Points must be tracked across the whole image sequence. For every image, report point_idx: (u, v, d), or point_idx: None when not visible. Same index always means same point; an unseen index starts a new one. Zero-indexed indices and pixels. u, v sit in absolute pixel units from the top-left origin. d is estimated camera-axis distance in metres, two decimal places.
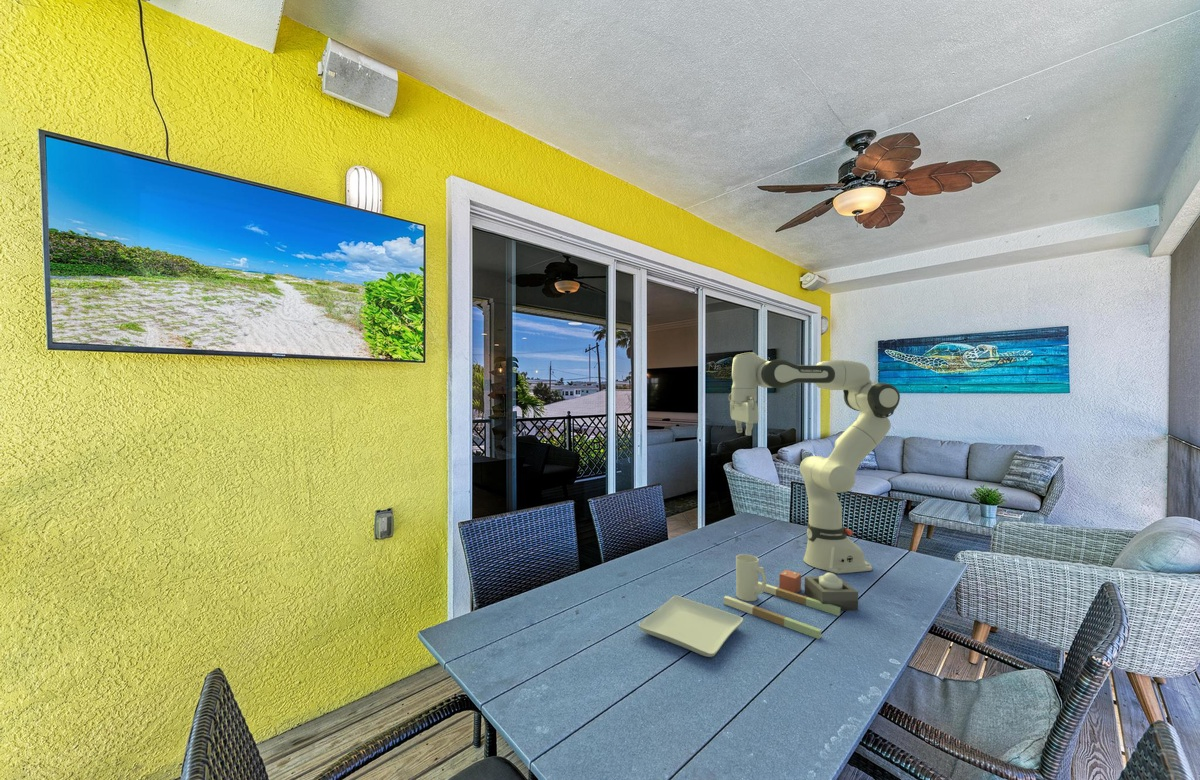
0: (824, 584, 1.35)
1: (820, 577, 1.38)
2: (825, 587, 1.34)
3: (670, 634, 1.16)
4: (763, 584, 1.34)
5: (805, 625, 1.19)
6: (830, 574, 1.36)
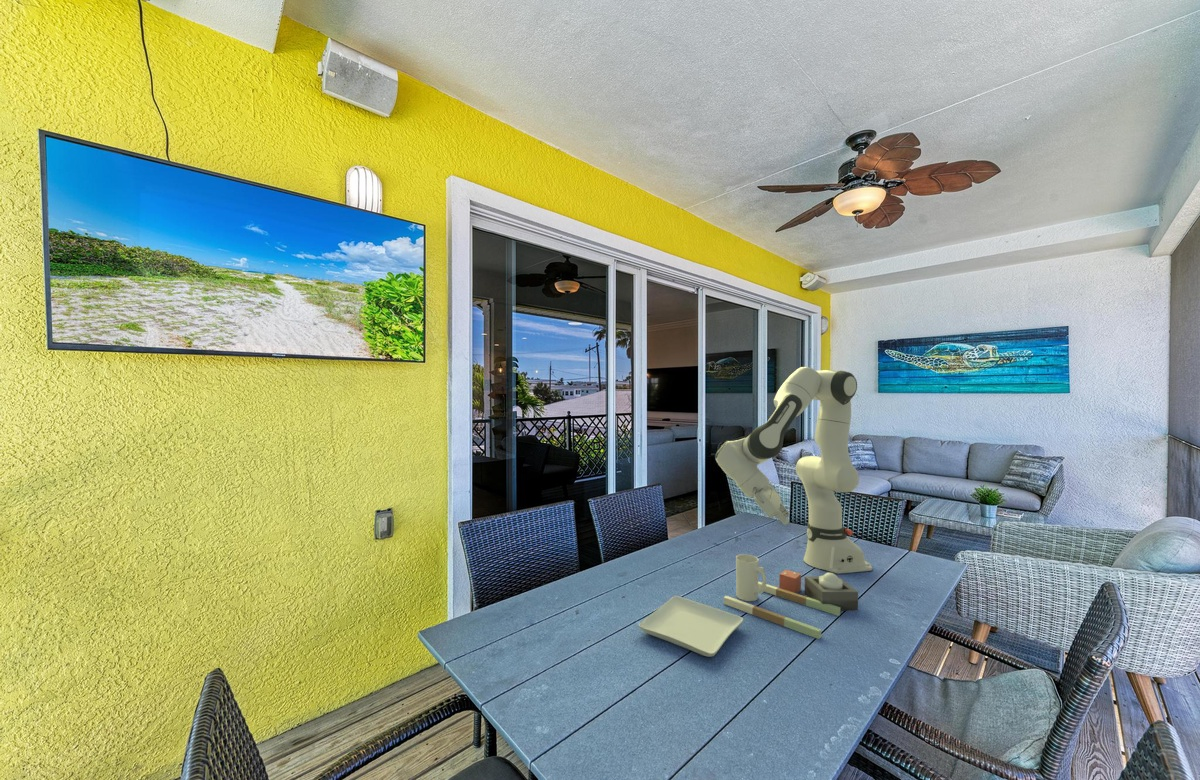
0: (824, 584, 1.35)
1: (820, 577, 1.38)
2: (825, 587, 1.34)
3: (670, 634, 1.16)
4: (763, 584, 1.34)
5: (805, 625, 1.19)
6: (830, 574, 1.36)
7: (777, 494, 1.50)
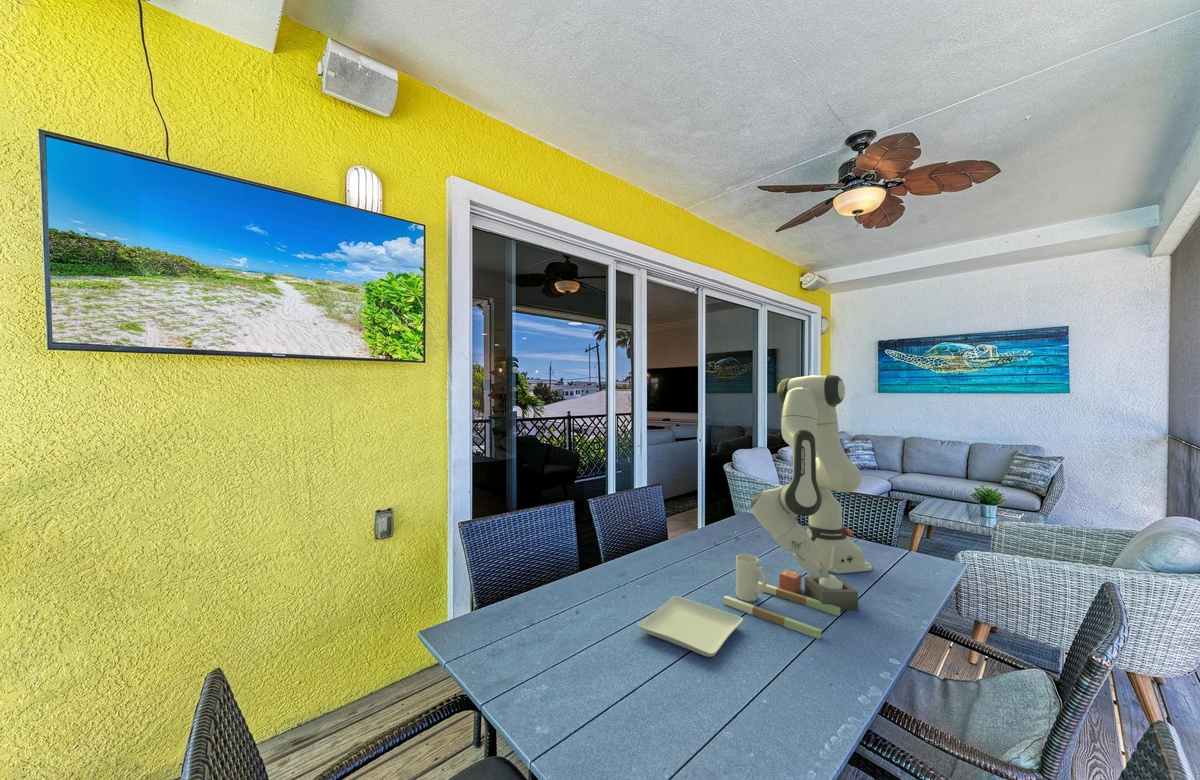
0: (824, 586, 1.35)
1: (820, 579, 1.38)
2: None
3: (670, 634, 1.16)
4: (763, 584, 1.34)
5: (805, 625, 1.19)
6: (830, 576, 1.36)
7: (814, 546, 1.45)
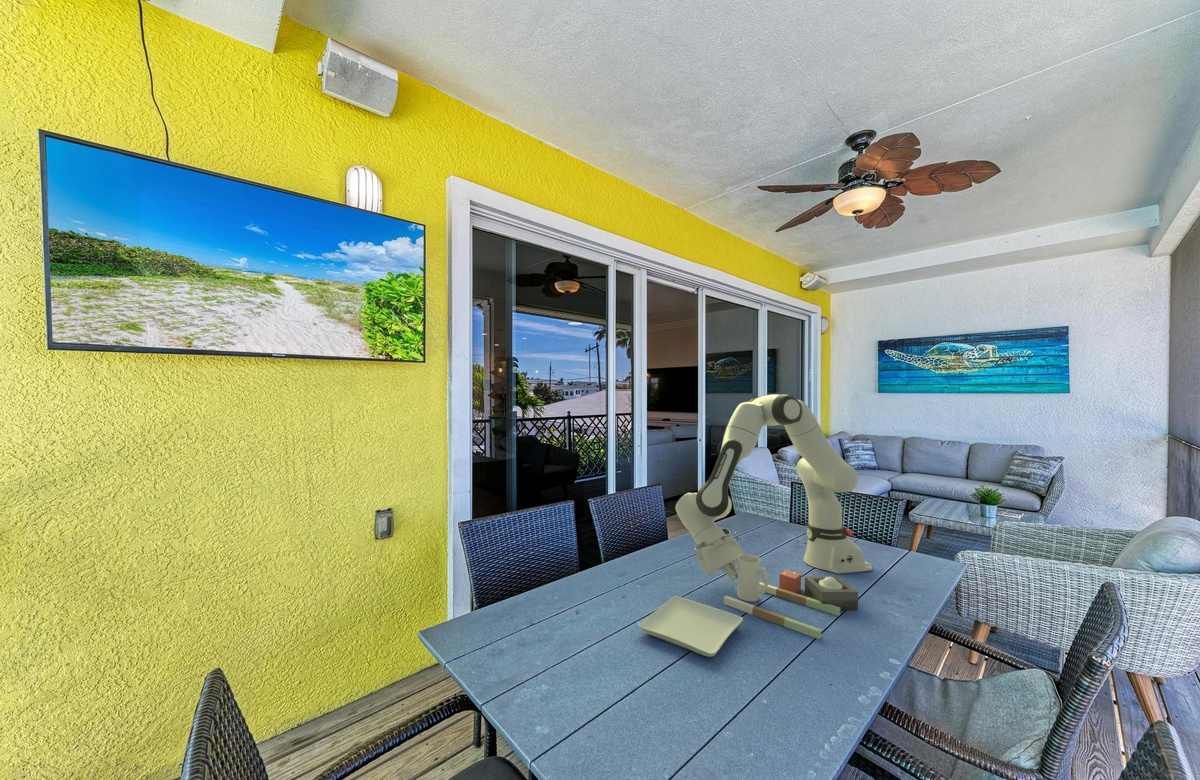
0: (824, 588, 1.35)
1: (820, 581, 1.38)
2: None
3: (670, 634, 1.16)
4: (765, 585, 1.34)
5: (805, 625, 1.19)
6: (830, 578, 1.36)
7: (738, 550, 1.49)
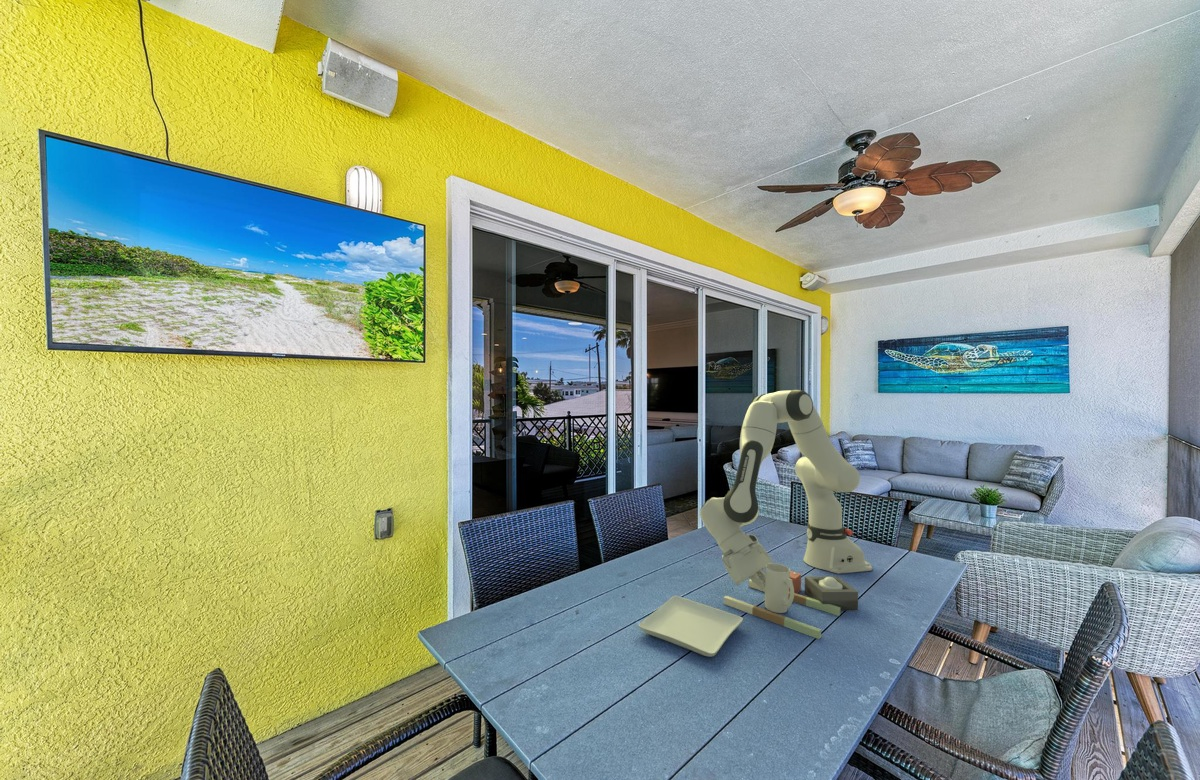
0: (824, 588, 1.35)
1: (820, 581, 1.38)
2: None
3: (670, 634, 1.16)
4: (790, 597, 1.26)
5: (805, 625, 1.19)
6: (830, 578, 1.36)
7: (766, 558, 1.42)
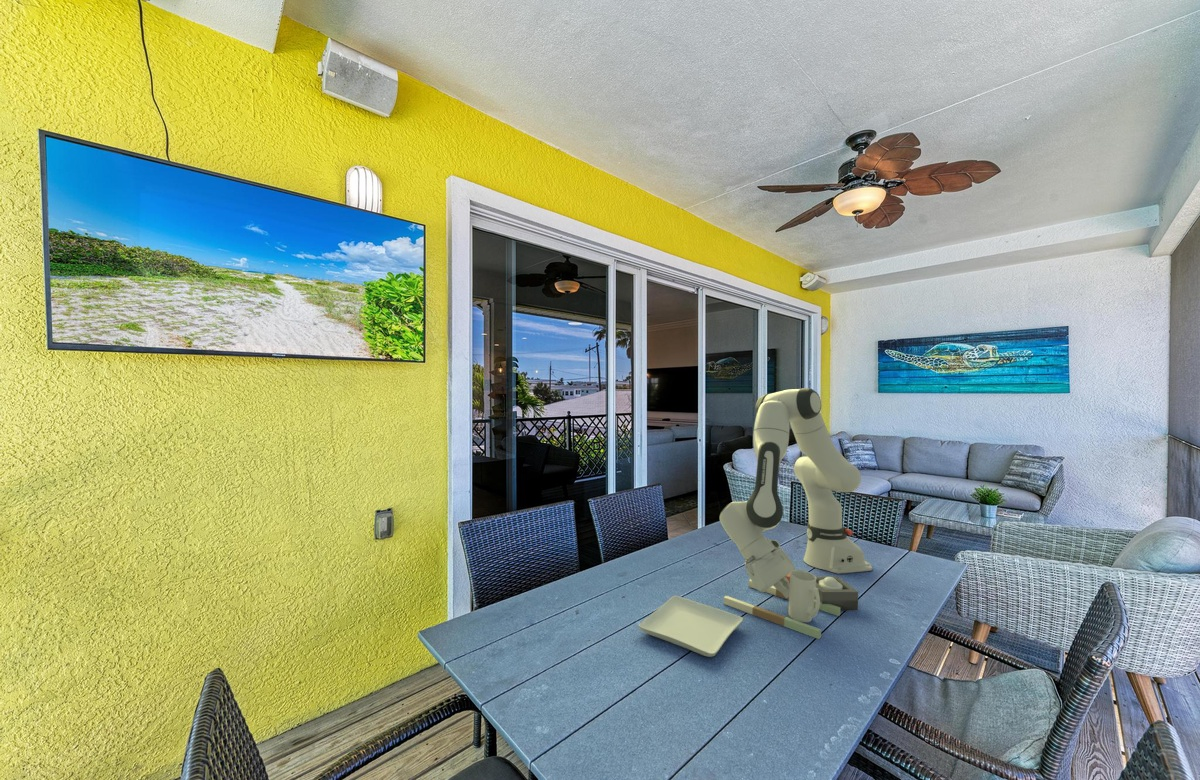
0: (824, 588, 1.35)
1: (820, 581, 1.38)
2: None
3: (670, 635, 1.16)
4: (816, 607, 1.21)
5: (805, 625, 1.19)
6: (830, 578, 1.36)
7: (789, 564, 1.37)
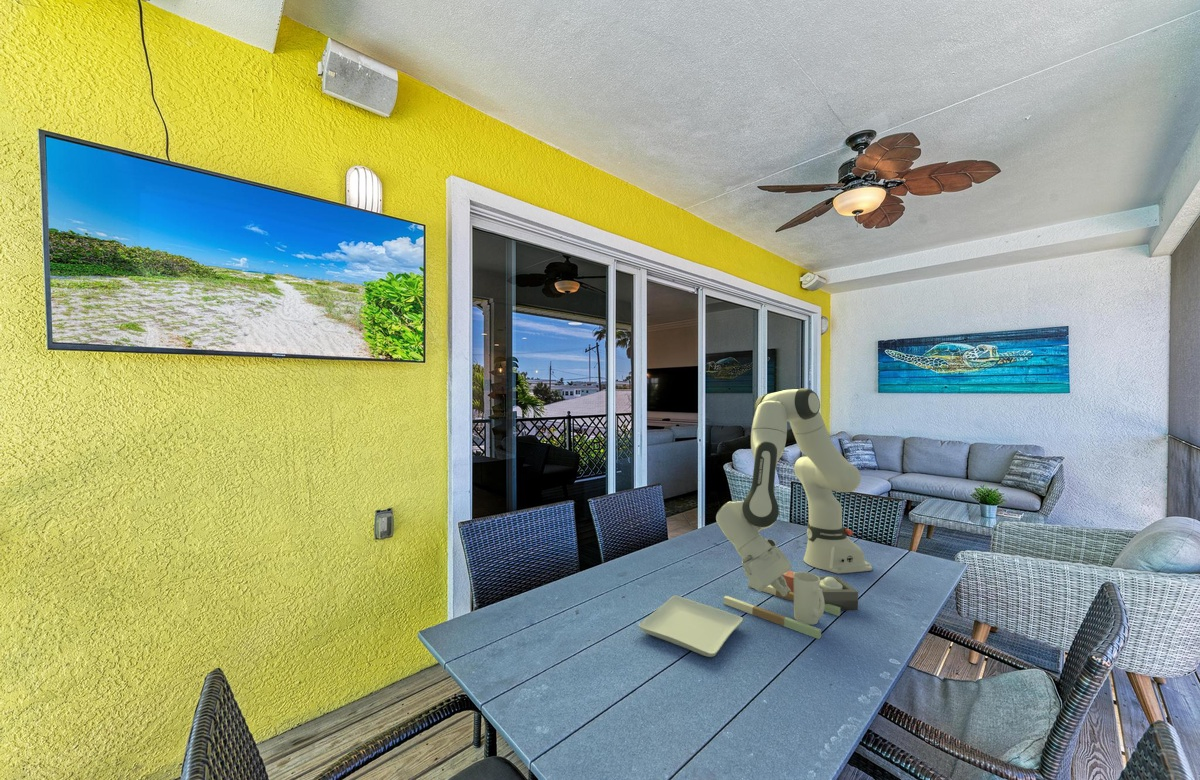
0: (824, 588, 1.35)
1: (820, 581, 1.38)
2: None
3: (670, 634, 1.16)
4: (821, 608, 1.20)
5: (805, 625, 1.19)
6: (830, 578, 1.36)
7: (786, 563, 1.38)
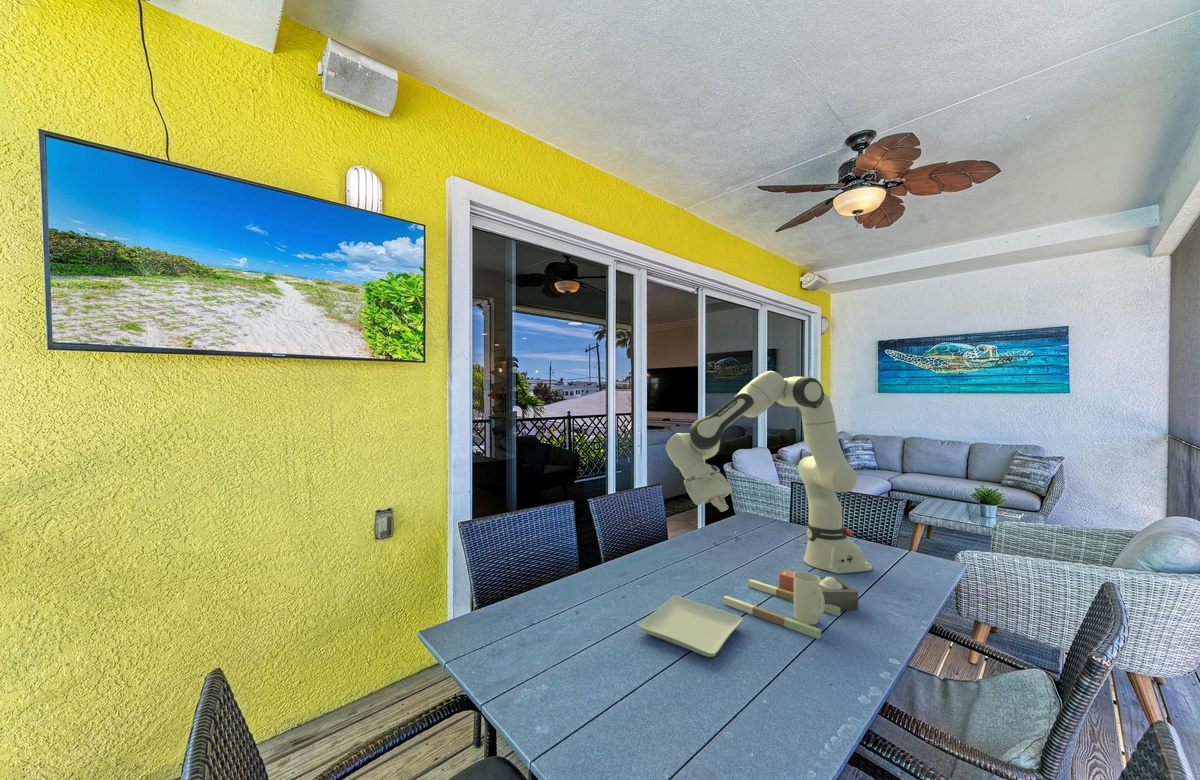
0: (824, 588, 1.35)
1: (820, 581, 1.38)
2: None
3: (670, 635, 1.16)
4: (821, 607, 1.20)
5: (805, 625, 1.19)
6: (830, 578, 1.36)
7: (727, 486, 1.53)
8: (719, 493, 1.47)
